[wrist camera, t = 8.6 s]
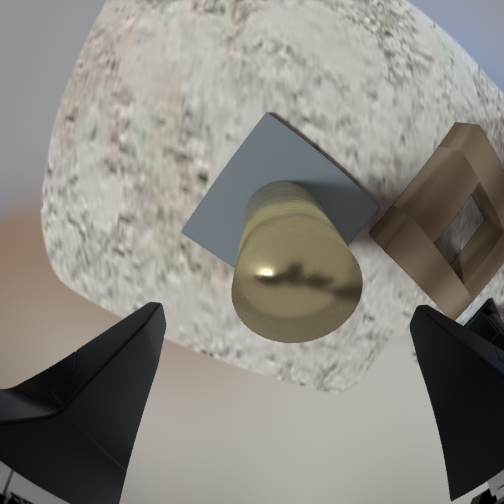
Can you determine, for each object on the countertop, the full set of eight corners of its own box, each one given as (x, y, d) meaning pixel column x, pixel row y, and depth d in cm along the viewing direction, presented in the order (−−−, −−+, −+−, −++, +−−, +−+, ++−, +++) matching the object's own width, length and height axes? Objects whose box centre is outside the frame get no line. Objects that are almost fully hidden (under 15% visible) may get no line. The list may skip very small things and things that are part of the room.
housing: (507, 216, 17) (526, 228, 15) (438, 304, 22) (452, 323, 19) (455, 122, 15) (479, 124, 12) (368, 233, 19) (383, 250, 16)
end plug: (334, 211, 18) (386, 282, 10) (288, 263, 20) (302, 358, 12) (276, 165, 17) (289, 203, 8) (230, 224, 18) (206, 305, 10)
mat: (377, 205, 18) (379, 207, 17) (290, 300, 22) (291, 303, 21) (266, 112, 16) (266, 112, 15) (182, 229, 19) (180, 232, 19)
